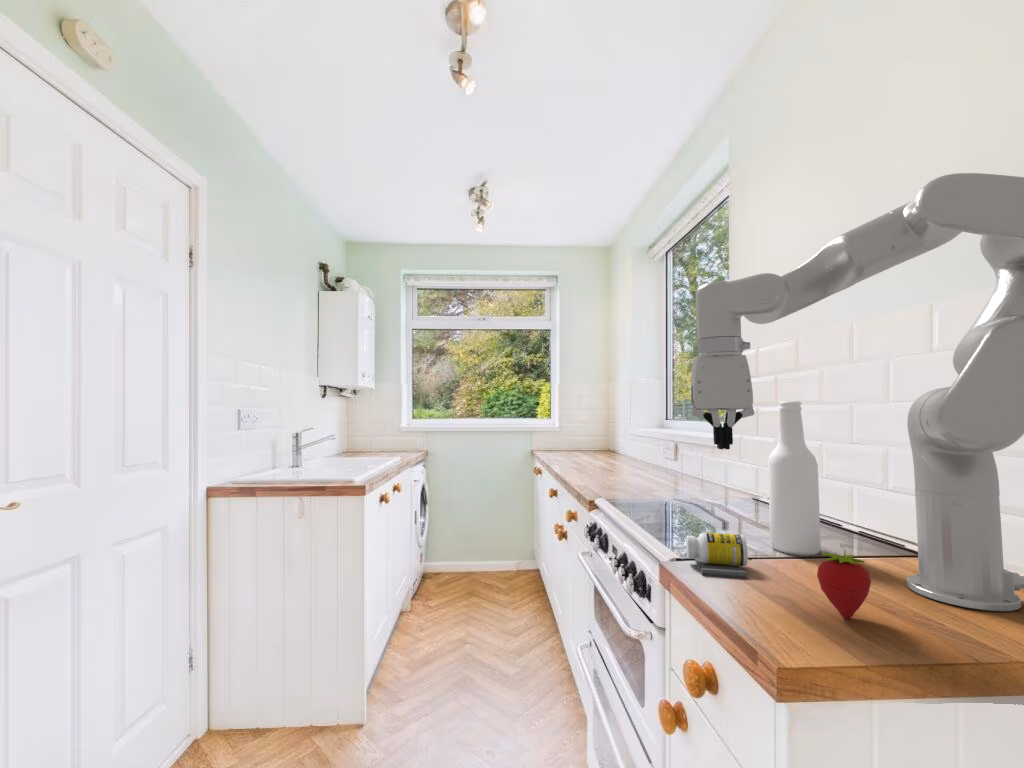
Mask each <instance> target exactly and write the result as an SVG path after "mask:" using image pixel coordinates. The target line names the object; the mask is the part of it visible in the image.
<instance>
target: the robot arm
mask: <svg viewBox="0 0 1024 768" xmlns="http://www.w3.org/2000/svg"><path fill="white" fill-rule="evenodd" d="M961 233H968V234H974V235H979V236H980V235H981V238H980V242H979V244H980V245H979V246H980V248H979V249H980V251H981V255H982V256H983V257H984V260H985V261H986V262H987V263H988V264H989V266H990V267H991V268H992V270H993V272H994V275H995V279H996V281H995V282H996V284H995V288H994V290H993V292H992V294H991V295H990V297H989V299H988V301H987V302H986V304H985V306H984V307H983V309H982V310H981V312H980V314H979V315H978V316H977V318H976V319H975V321H974V322H973V324H972V325H971V327H970V328H969V330H968V331H967V332H966V333H965V335H964V336H963V338H961V340H960V341H959V343H958V344H957V346H956V348H955V349H954V353H953V356H952V365H953V367H954V370H955V372H956V374H957V375H958V376H957V377H956V379H955V381H953V383H952V385H951V386H948V387H947V386H946V387H940V388H935V389H931V390H929V391H926V392H925V393H924V394H921V395H920V396H919V397H918V398H917V399H916V400H914V402H913V403H912V404H911V406H910V408H909V410H908V415H907V420H906V421H907V422H906V424H907V426H906V427H907V432H908V433H907V434H908V438H909V443H910V448H911V449H910V450H911V455H912V461H913V463H912V464H913V474H914V475H913V476H914V498H915V519H916V535H917V540H916V541H917V557H918V558H917V559H918V560H917V561H918V573H915V574H910V575H908V576H907V578H906V585H907V587H908V588H910V590H911V591H913V592H915V593H916V594H919V595H920V596H923V597H926V598H929V599H932V600H934V601H938V602H941V603H945V604H949V605H953V606H957V607H962V608H966V609H967V608H968V609H972V610H973V609H974V610H981V611H990V612H1013V611H1017V610H1019V609H1021V608H1022V599H1021V597H1020V596H1019V595H1018V594H1016V593H1015V592H1019V591H1020V590H1021V589H1022V590H1023V589H1024V575H1020V573H1018V572H1013V571H1010V570H1007V569H1005V568H1004V566H1005V565H1004V550H1003V536H1002V533H1003V532H1002V520H1001V518H1002V517H1001V504H1000V492H1001V491H1000V481H999V479H1000V478H999V472H998V467H997V462H996V459H995V456H994V453H995V452H999V451H1002V450H1004V449H1007V448H1008V447H1010V446H1012V445H1013V444H1015V443H1016V442H1018V441H1019V440H1020V438H1022V437H1023V436H1024V176H1015V175H1005V174H996V173H995V174H994V173H981V172H979V173H977V172H975V173H974V172H962V173H961V172H960V173H959V172H957V173H950V174H944V175H941V176H939V177H936V178H934V179H932V180H930V181H929V182H927V183H926V184H925V185H924V186H923V187H921V188H920V190H919V191H918V192H917V194H915V195H914V197H913V198H912V199H911V200H910V201H908V202H907V203H905V204H903V205H901V206H899V207H896V208H895V209H893V210H890V211H888V212H886V213H884V214H882V215H880V216H878V217H875V218H873V219H871V220H869V221H867V222H865V223H863V224H861V225H859V226H857V227H854V228H853V229H850V230H848V231H846V232H844V233H842V234H840V235H838V236H837V237H835V238H834V239H832V240H831V241H829V243H827V244H826V245H824V246H823V247H822V248H821V249H820V250H819V251H818V252H817V253H816V254H814V255H813V256H812V257H811V258H809V259H807V261H805V262H804V263H802V264H801V265H799V266H798V267H796V268H795V269H793V270H791V271H789V272H787V273H785V274H783V275H781V276H780V275H778V274H777V273H770V272H767V273H759V274H753V275H750V276H746V277H743V278H742V277H741V278H738V279H734V280H730V281H729V280H728V281H727V280H719V281H712V282H708V283H705V284H702V285H700V286H699V287H698V288H697V289H696V293H695V311H696V332H697V333H696V334H697V335H696V336H697V338H696V339H697V357H694V358H693V360H692V366H691V379H690V380H691V381H690V402H691V411H690V414H691V416H692V417H696V418H700V419H704V420H705V421H706V422H707V423H709V424H710V425H711V427H712V428H713V429H712V430H713V434H712V435H713V445H716V449H718V450H724V449H725V450H730V449H731V445H733V443H734V438H733V427H734V426H735V425H736V424H737V422H739V421H740V420H741V419H743V418H748V417H752V416H754V415H755V410H754V406H753V404H754V393H753V392H754V391H753V384H752V376H751V371H750V366H749V363H748V357H747V355H746V354H743V353H744V351H746V350H750V349H751V342H750V341H744V339H743V337H742V324H741V321H742V320H741V318H742V317H744V318H745V320H746V319H747V321H749V322H751V323H753V324H756V325H757V324H758V325H765V324H770V323H774V322H776V321H778V320H780V319H783V318H785V317H787V316H790V315H791V314H795V313H797V312H799V311H801V310H804V309H806V308H808V307H810V306H812V305H813V304H816V303H818V302H821V301H822V300H824V299H826V298H829V297H830V296H833V295H835V294H837V293H839V292H840V293H841V292H842V291H844V290H846V289H849V288H851V287H852V286H854V285H856V284H858V283H861V282H862V281H864V280H867V279H869V278H871V277H874V276H876V275H878V274H880V273H882V272H885V271H886V270H889V269H891V268H893V267H895V266H898V265H900V264H902V263H905V262H907V261H909V260H913V259H914V258H916V257H919V256H922V255H923V254H926V253H928V252H930V251H933V250H935V249H938V248H939V247H941V246H943V245H945V244H947V243H949V242H950V241H952V240H953V239H955V238H956V237H958V236H959V235H961ZM737 410H738V411H737ZM707 411H708V412H707ZM719 411H725V415H724V421H723V424H722V423H721V419H720V413H719Z"/></svg>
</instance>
